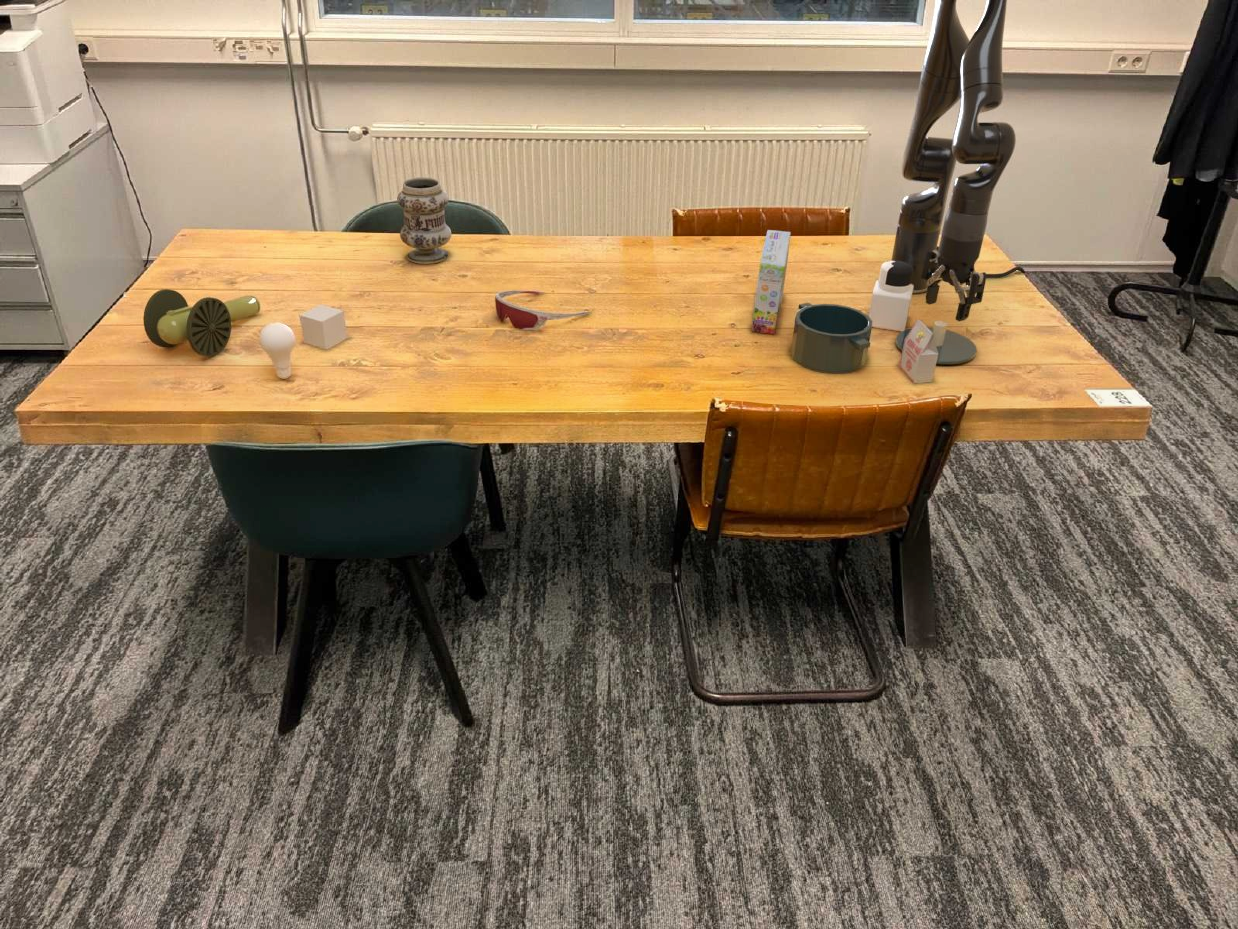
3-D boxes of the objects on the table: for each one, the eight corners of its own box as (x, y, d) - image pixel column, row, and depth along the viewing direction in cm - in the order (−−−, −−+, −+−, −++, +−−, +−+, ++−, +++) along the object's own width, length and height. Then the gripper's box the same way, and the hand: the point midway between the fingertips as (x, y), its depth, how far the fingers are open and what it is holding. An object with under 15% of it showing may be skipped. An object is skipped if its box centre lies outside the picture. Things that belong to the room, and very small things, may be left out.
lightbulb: (271, 370, 178) (260, 317, 172) (305, 370, 179) (294, 316, 172) (264, 386, 173) (252, 331, 167) (298, 385, 173) (287, 331, 167)
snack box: (777, 335, 194) (786, 266, 186) (750, 332, 195) (757, 263, 187) (783, 295, 212) (791, 229, 203) (758, 292, 213) (765, 227, 204)
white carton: (916, 365, 184) (926, 318, 179) (932, 381, 179) (942, 333, 173) (899, 366, 184) (908, 319, 178) (913, 383, 178) (924, 335, 173)
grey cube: (326, 349, 186) (321, 321, 182) (304, 342, 188) (298, 315, 185) (348, 338, 190) (343, 310, 187) (325, 331, 193) (320, 304, 189)
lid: (939, 327, 199) (944, 302, 196) (992, 358, 187) (999, 332, 184) (879, 340, 194) (884, 314, 190) (930, 373, 182) (936, 346, 179)
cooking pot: (828, 329, 197) (833, 294, 193) (889, 371, 182) (897, 333, 178) (769, 342, 192) (773, 305, 188) (827, 385, 177) (833, 347, 173)
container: (907, 317, 203) (918, 260, 196) (904, 332, 197) (916, 273, 189) (870, 312, 205) (880, 255, 198) (866, 326, 199) (876, 268, 192)
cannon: (232, 308, 201) (221, 257, 195) (279, 317, 198) (269, 266, 191) (145, 358, 181) (129, 303, 175) (195, 369, 178) (181, 314, 172)
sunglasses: (477, 313, 200) (478, 290, 198) (535, 303, 212) (537, 282, 210) (532, 339, 191) (535, 315, 188) (590, 327, 203) (593, 304, 200)
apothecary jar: (448, 266, 222) (442, 190, 212) (397, 265, 222) (388, 189, 212) (456, 248, 232) (451, 175, 223) (408, 247, 232) (400, 173, 223)
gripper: (1006, 242, 173) (985, 322, 182) (952, 217, 184) (935, 294, 193) (975, 248, 171) (955, 329, 180) (922, 222, 181) (906, 300, 190)
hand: (945, 311), depth 186 cm, fingers open, 8 cm apart
